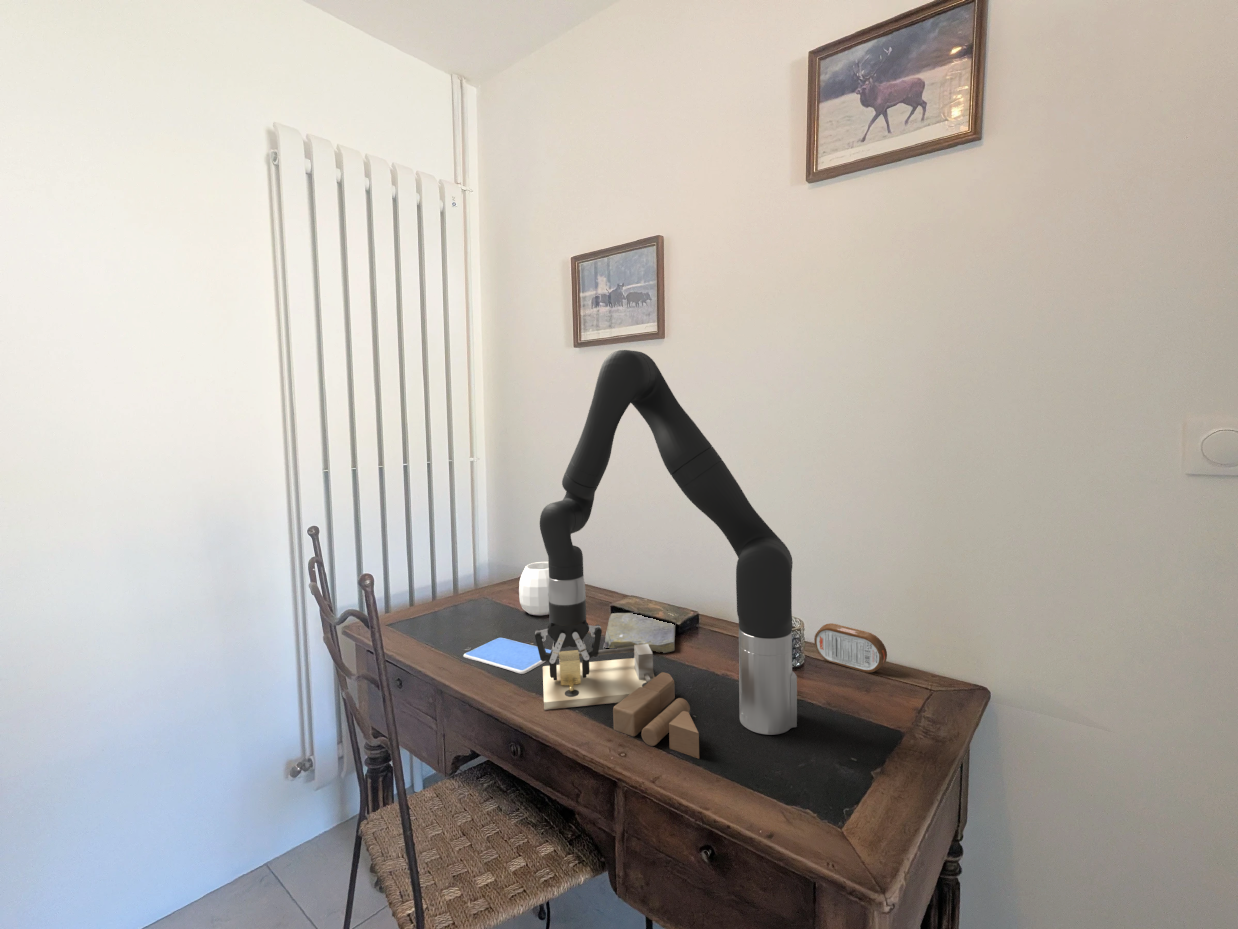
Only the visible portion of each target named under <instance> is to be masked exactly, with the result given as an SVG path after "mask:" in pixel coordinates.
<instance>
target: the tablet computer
mask: <svg viewBox="0 0 1238 929" xmlns="http://www.w3.org/2000/svg"><path fill="white" fill-rule="evenodd" d="M545 650H546V652H547V653H550V652H551V649H548V648H545ZM463 658H466V659H469V660H473V661H476V662H480V663H483V664H487V665H490V666H493V667H496V668H501V669H504V670H508V671H510V672H514V673H516V674H520V675H525V674H526V673H527V674H528V673H529V672H530V671H532V670H534V669H535V668H538V667H539V666H541V665H543V664H544V663H545V662H547V661H541V659H540V655H539V651H538V647H537V645H531V644H528V643H525V642H520V641H516V640H512V639H509V638H504V637H498V638H495V639H493V640H491V641H489V642H486V643H484V644H482V645H480V646H478V647H475V648H474V649H472V650H469V651H467V652H465V653H464V654H463Z"/></svg>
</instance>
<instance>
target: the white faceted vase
mask: <svg viewBox="0 0 1238 929" xmlns="http://www.w3.org/2000/svg"><path fill="white" fill-rule="evenodd" d="M548 584H549V564H548V561H538V562H532V563H528V564H527V565H525V567H524V569H523V570H522V573H521V575H520V578H519V585H518V586H519V587H518V596H519V604H520V606H521V608H522V610H524V612H526V613H528V614H529V615H533V616H548V615H549V597H548Z"/></svg>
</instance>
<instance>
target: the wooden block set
mask: <svg viewBox="0 0 1238 929" xmlns="http://www.w3.org/2000/svg"><path fill="white" fill-rule="evenodd" d="M675 688H676V687H675V680H674V678H673V677H672V675H671V674H670V673H667V672H663V671H662V672H660V673H659V674H658V675H655V678H654V679H652V680H651V681H650V682H649V683H647V684H646V685H645V686H643V687H639V688H638V689H636V690H635V691H634V692H632V693H631V694H630V695H628V696H627V697H626V698H625V699H623V700H622V701H621V702H618V703H616V704H615V705H614V706H613V709H612V715H613V716H612V718H613V721H612V722H613V730H614V731H616V732H618V733H622V734H625V735H628V736H631V737H636V736H637V735H638V734H639V733H640V732H641V734H640V735H641V738H642V741H643V742H644V743H645V744H646V745H648V746H650V747H655V746H657V744H658V743H660V741H662V739H664V738H665V737H666V736H667V735H668V738H669V739H668V740H669V743H668V744H669V746H668V748H669V750H673V751H675V752H678V753H681V754H685V755H688V756H689V757H693V758H697V759H698V760H699V759H700V738H699V736H700V733H699V730H698V729H697V727H696V724H695V723H694V720H693V719H692V717H691V714H690V711H691V706H690V704H689V702H688V701H687V700H686V699H685V698H683V697H678V698H676V697H675V696H676V695H675V694H676V693H675V692H676V691H675V690H676V689H675ZM675 698H676V699H675ZM668 733H669V734H668Z"/></svg>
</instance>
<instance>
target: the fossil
mask: <svg viewBox="0 0 1238 929" xmlns="http://www.w3.org/2000/svg"><path fill="white" fill-rule="evenodd" d="M633 613H634V612H614V613H613V612H612V613H610V616H609V618H608V623H607V626H606V627H607V628H606V632H605V638H604V641H605V642H604V643H603V648H604V647H605V648H629V647H634V645H642V644H648V645H649V647H650V649H651V651H652V652H653V651H656V652H655V653H660V652H663V653H662V654H666V653H670V652H674V651H675V639H676V637H675V636H676V624H675V625H674V624H672V623H667V622H663V621H659V620H656V619H653V618H648V617H644V616H642V615H637V614H633ZM667 613H668V614H670V615H672V616H675V615H674V614H673V613H671V612H667Z"/></svg>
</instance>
